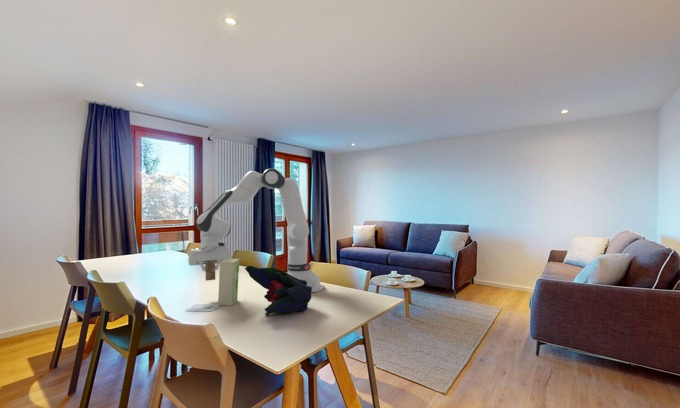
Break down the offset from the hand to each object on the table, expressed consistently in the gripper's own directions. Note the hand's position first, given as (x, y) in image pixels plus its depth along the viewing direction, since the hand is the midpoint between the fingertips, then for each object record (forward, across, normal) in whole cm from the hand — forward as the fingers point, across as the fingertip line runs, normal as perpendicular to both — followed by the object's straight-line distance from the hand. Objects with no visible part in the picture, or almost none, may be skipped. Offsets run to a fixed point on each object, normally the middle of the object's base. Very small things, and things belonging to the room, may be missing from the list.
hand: (210, 269), depth 152 cm
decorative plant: (+35, +27, -13) cm, 46 cm away
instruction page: (+20, -4, +1) cm, 20 cm away
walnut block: (+3, 0, +4) cm, 5 cm away
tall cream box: (+18, +8, +3) cm, 20 cm away
